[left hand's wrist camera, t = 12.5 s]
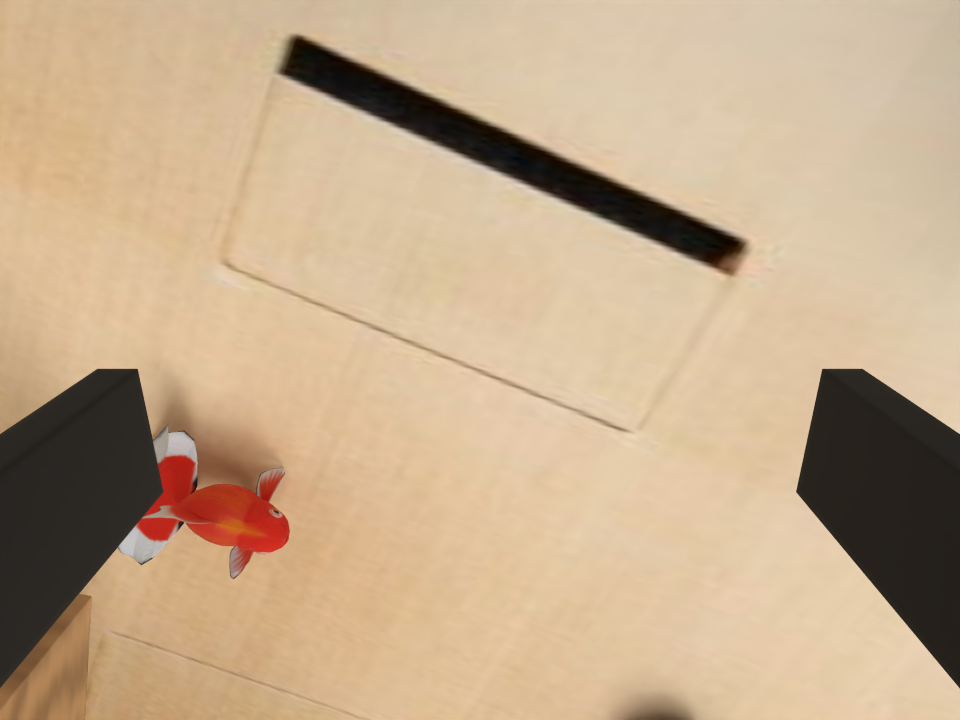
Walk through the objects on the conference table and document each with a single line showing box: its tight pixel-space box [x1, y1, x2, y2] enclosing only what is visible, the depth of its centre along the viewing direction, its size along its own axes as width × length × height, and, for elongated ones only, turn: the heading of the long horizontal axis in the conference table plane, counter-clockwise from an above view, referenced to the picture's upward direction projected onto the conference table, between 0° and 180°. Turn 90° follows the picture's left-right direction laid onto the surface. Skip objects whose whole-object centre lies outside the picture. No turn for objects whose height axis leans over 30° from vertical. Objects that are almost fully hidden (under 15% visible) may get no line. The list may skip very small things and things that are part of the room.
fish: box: [117, 425, 290, 579], centre depth 45 cm, size 11×16×10 cm
